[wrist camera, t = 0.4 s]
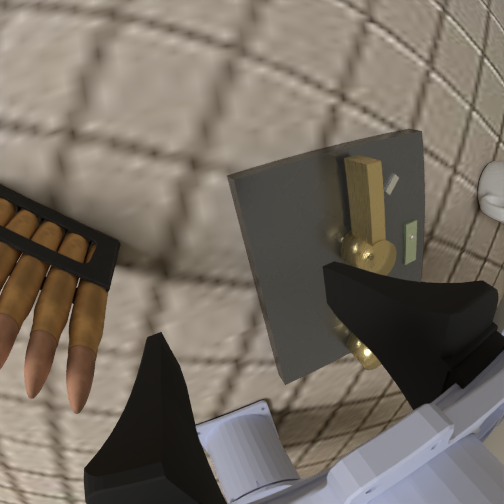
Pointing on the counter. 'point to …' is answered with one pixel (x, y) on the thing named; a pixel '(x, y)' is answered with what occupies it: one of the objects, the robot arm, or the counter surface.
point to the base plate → (321, 238)
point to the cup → (492, 191)
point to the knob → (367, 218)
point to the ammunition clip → (53, 290)
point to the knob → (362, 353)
